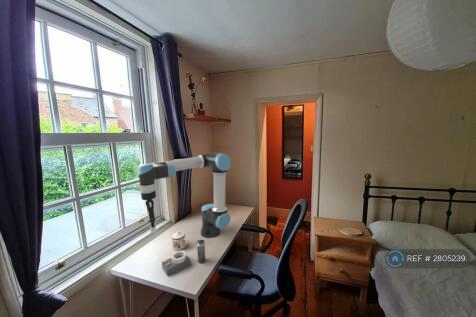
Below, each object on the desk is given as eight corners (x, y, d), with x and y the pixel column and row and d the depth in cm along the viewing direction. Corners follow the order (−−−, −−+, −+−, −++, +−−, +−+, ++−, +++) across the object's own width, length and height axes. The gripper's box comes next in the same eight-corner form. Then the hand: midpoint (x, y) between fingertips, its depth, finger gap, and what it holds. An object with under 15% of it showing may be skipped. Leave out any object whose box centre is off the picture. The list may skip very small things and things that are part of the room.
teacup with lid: (169, 249, 134) (168, 233, 133) (178, 242, 142) (177, 227, 141) (183, 253, 130) (182, 236, 128) (191, 245, 138) (190, 230, 136)
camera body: (184, 257, 125) (183, 248, 124) (190, 264, 118) (189, 255, 117) (162, 267, 116) (161, 258, 115) (167, 276, 109) (166, 265, 108)
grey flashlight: (203, 257, 124) (202, 238, 122) (207, 261, 120) (205, 241, 119) (196, 260, 121) (195, 241, 119) (200, 264, 118) (198, 244, 116)
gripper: (139, 187, 117) (143, 220, 120) (142, 199, 95) (146, 239, 98) (153, 185, 120) (156, 217, 123) (158, 196, 99) (162, 234, 102)
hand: (152, 227), depth 111 cm, fingers open, 13 cm apart
